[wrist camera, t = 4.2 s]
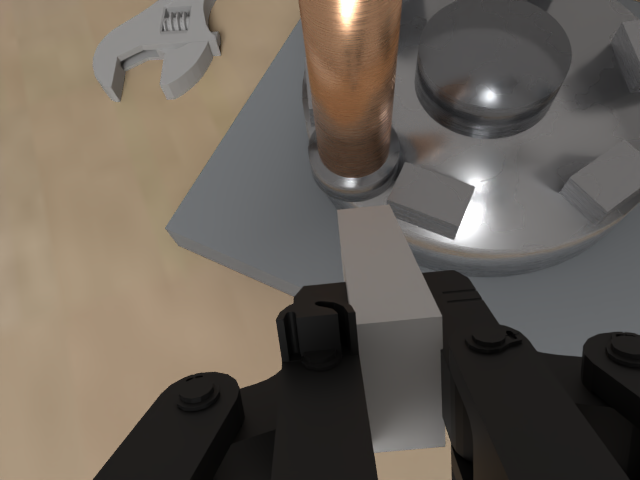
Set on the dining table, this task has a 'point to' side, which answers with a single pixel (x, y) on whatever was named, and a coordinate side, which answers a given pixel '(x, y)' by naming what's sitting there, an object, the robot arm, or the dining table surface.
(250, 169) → the base plate
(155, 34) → the adjustable wrench
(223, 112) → the dining table surface
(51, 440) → the dining table surface
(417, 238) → the metal rotary base
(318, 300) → the robot arm
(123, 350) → the dining table surface
